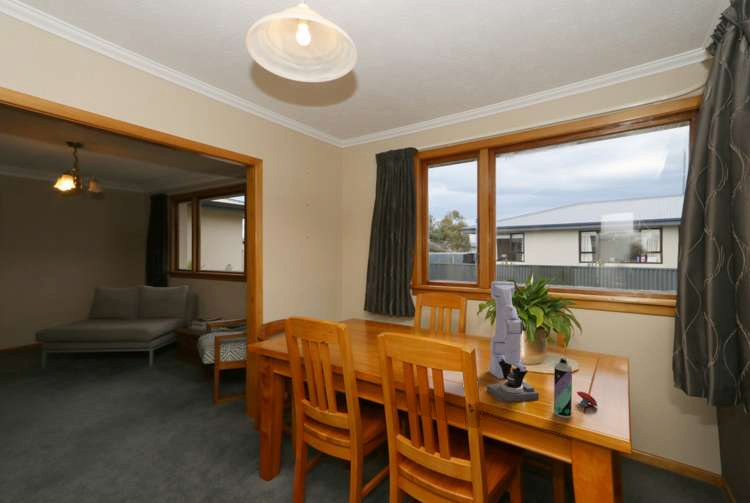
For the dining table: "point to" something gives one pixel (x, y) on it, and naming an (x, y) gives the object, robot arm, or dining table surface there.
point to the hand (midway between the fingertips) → (512, 382)
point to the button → (586, 399)
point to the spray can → (563, 389)
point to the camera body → (512, 392)
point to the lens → (511, 380)
